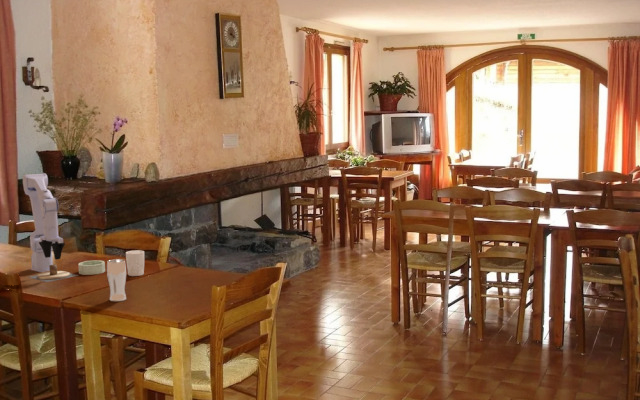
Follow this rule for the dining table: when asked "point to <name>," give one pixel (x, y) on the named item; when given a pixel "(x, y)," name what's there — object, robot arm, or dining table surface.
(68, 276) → the mat
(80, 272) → the bowl
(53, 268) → the lid
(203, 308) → the dining table surface
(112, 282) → the beer glass
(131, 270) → the white cup
